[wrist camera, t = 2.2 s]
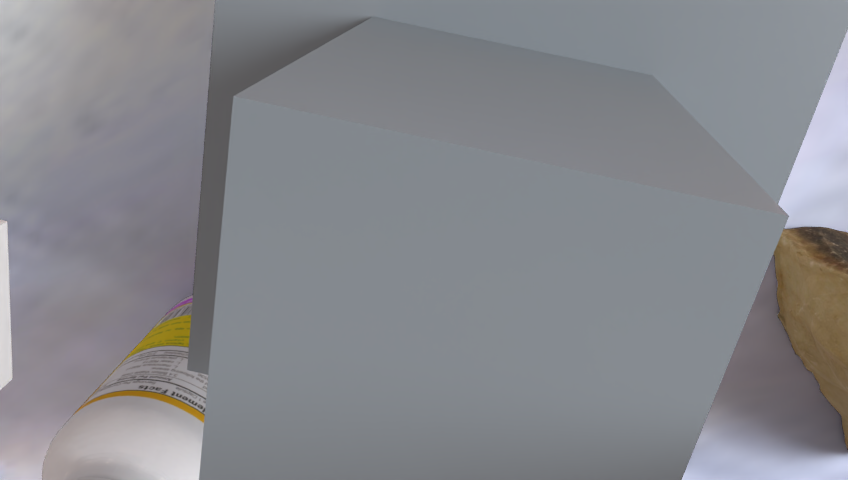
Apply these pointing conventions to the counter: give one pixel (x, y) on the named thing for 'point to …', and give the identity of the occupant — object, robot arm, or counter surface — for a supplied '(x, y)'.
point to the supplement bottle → (139, 415)
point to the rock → (817, 306)
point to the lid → (488, 229)
